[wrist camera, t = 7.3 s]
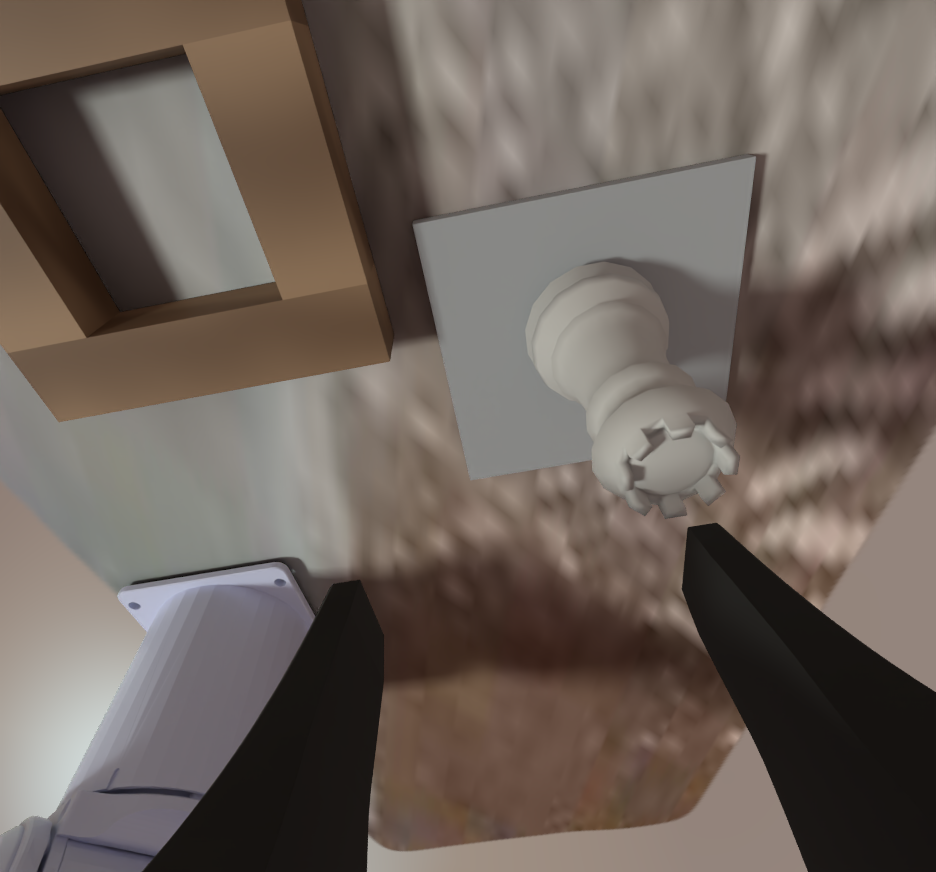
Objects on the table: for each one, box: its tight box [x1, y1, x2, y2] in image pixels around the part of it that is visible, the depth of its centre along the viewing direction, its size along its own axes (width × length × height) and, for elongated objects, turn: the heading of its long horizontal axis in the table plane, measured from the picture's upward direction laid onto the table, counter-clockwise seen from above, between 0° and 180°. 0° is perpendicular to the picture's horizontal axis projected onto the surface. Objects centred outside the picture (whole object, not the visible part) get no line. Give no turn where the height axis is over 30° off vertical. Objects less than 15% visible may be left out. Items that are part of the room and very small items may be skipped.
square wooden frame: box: [0, 0, 394, 422], centre depth 15 cm, size 11×11×2 cm
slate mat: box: [413, 154, 756, 480], centre depth 18 cm, size 10×10×1 cm
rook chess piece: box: [525, 261, 740, 519], centre depth 14 cm, size 4×4×8 cm
